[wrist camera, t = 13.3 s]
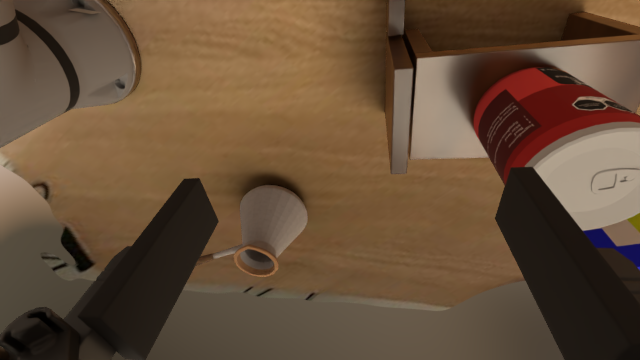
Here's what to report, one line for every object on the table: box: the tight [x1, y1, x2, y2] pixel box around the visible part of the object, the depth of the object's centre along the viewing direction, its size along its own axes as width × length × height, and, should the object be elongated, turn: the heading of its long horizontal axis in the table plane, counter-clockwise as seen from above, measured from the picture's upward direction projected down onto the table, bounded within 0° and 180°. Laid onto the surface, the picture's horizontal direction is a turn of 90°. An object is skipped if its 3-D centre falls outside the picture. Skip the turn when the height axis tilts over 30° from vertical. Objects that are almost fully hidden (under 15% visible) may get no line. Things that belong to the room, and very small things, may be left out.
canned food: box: [474, 67, 640, 230], centre depth 22 cm, size 8×8×11 cm
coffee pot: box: [195, 185, 308, 277], centre depth 48 cm, size 21×12×15 cm, turn 100°
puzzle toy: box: [582, 213, 640, 270], centre depth 43 cm, size 10×10×10 cm
